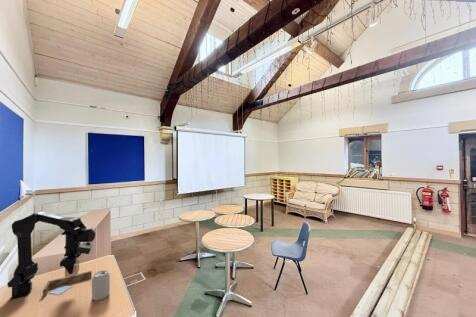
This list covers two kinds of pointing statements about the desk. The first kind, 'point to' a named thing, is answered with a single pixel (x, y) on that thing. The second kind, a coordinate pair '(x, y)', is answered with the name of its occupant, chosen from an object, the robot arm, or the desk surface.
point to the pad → (60, 289)
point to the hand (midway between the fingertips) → (72, 271)
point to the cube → (75, 270)
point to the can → (100, 285)
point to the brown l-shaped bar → (66, 281)
